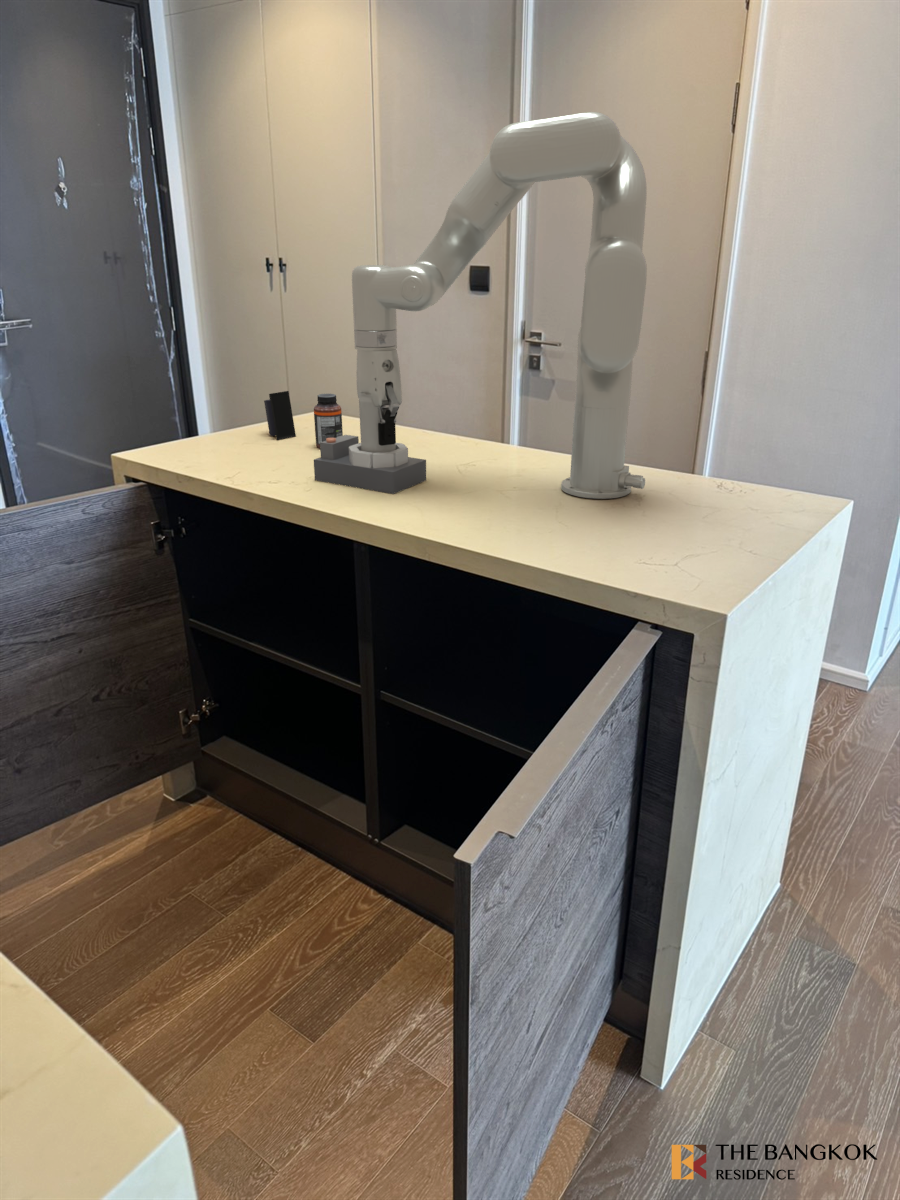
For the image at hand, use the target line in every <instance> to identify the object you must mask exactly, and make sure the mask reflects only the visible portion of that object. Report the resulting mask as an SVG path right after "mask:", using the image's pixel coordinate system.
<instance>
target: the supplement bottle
mask: <svg viewBox="0 0 900 1200" xmlns="http://www.w3.org/2000/svg"><path fill="white" fill-rule="evenodd" d="M342 412H343V411H342V406H341V405H340V404H338V402H337V394H334V393H321V394H320V393H319V394H318V395H317V404H316V405H315V406H314V408H313V418H314V432H315V433H314V434H315V435H314V436H315V446H316V447H317V448H318V449H320V442H323V441H326V438H337V437H340V436H343V435H344V432H343V416H342V415H343V414H342Z"/></svg>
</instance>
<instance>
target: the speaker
mask: <svg viewBox="0 0 900 1200" xmlns="http://www.w3.org/2000/svg"><path fill="white" fill-rule="evenodd" d="M268 396H269V398H268V399H265V400H263V402H264V409H265V415H266V421H267V428H268V433H269V436H272V437H276V441H280V440H285V439H290V438H291V439H292V438H295V437H297V435H296V434H297V433H296V430H295V429H296V428H295V421H294V416H293V410H292V403H291V398H290V391H289V390H286V391H285V390H284V391H280V392H279V391H278V392H272V393H268Z"/></svg>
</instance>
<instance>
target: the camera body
mask: <svg viewBox="0 0 900 1200" xmlns="http://www.w3.org/2000/svg"><path fill="white" fill-rule="evenodd" d="M395 444H396V450H394V451H391V452H376V453H372V452H366V451H361V442H359V436H358V435H350V434H343V436H340V437H337V438H326V441H323V442H320V448H319V449H320V451H319V452H320V457H317V458H313V469H314V470H313V473H314V481H316V480H317V482H324V483H328V482H329V484H334V483H335V484H334V485H339V484H340V486H345V485H346V487H350V486H351V488H356V487H357V489H362V488H363V489H362V490H367V489H369V491H373V490H374V491H375V492H380V493H385V494H392V495H394V494H397V493H400V492H402V491H405V490H408V489H409V488H412V487H414V486H417V485H419V484H422V483H424V482H426V481H427V459H425V458H424V459H423V458H417V457H410V456H409V448H408V446H406V444H404V443H401V442H396V443H395Z"/></svg>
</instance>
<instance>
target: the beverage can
mask: <svg viewBox="0 0 900 1200" xmlns="http://www.w3.org/2000/svg"><path fill="white" fill-rule="evenodd" d="M382 403H383V405H389V402H388V401H382ZM358 408H359V411H358V413H359V430H360V433H359V434H360V443H361V451H366V452H372V453H376V452H391V451H394V450H396V444H392V445H383V446H381V445H379V439H378V423H380V419H379V414H378V407H375V406H374V404H373V401H372V399H371V395H369V394H366V393H364V392H361V397H360V398H358ZM386 410H388V409H383V412H384V414H385V412H386Z"/></svg>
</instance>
